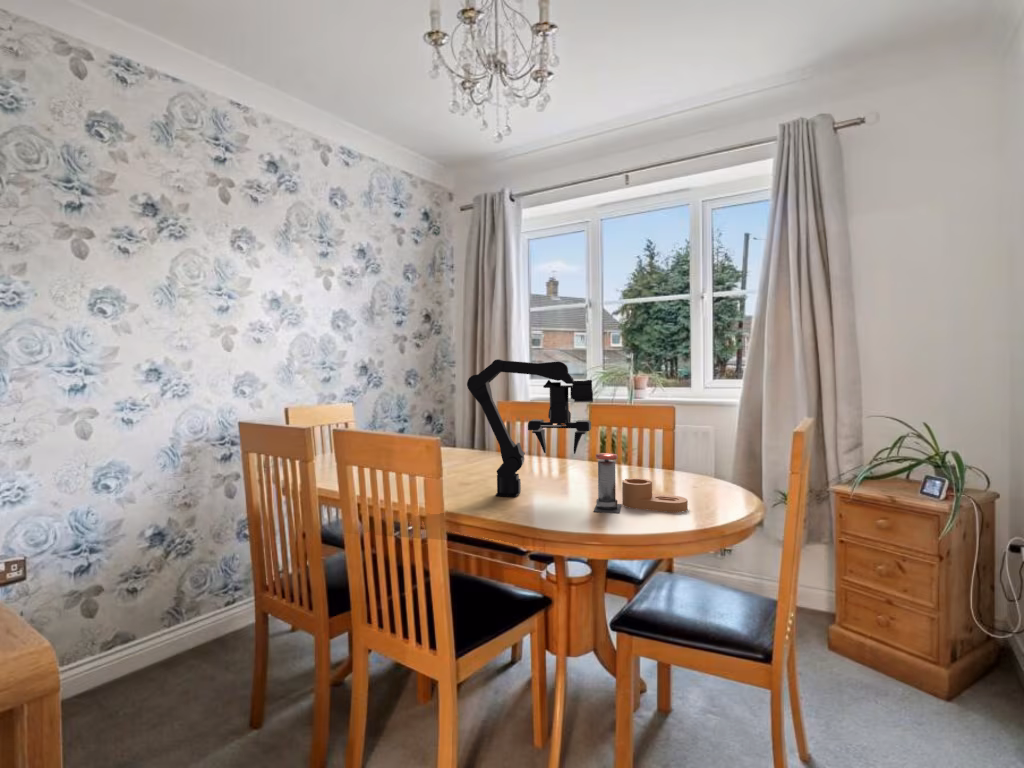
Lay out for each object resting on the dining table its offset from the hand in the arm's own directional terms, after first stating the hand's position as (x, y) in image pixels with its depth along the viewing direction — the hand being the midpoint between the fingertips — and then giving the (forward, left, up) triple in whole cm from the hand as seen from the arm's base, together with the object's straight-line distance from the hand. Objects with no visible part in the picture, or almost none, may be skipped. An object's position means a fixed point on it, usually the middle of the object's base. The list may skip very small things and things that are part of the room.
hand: (559, 453), depth 173 cm
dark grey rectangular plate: (+15, -12, -13) cm, 23 cm away
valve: (+15, -12, -13) cm, 23 cm away
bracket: (+28, -7, -14) cm, 32 cm away
